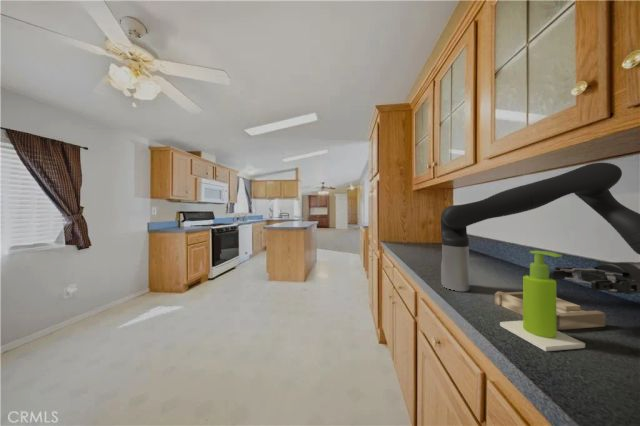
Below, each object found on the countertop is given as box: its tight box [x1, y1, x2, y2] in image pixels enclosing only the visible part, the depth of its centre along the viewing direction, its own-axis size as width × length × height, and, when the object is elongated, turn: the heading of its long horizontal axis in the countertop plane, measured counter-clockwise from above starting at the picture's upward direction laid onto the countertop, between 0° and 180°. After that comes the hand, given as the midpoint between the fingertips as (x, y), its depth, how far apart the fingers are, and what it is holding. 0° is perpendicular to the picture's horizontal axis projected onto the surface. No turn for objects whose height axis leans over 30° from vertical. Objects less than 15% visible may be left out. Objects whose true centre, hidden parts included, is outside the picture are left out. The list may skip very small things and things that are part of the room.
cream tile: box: [499, 319, 586, 352], centre depth 55 cm, size 11×10×1 cm
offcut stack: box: [556, 296, 585, 313], centre depth 67 cm, size 11×5×4 cm, turn 6°
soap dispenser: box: [522, 250, 564, 338], centre depth 54 cm, size 6×7×20 cm
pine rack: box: [494, 290, 606, 331], centre depth 66 cm, size 17×16×4 cm
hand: (570, 279), depth 55 cm, fingers open, 8 cm apart
